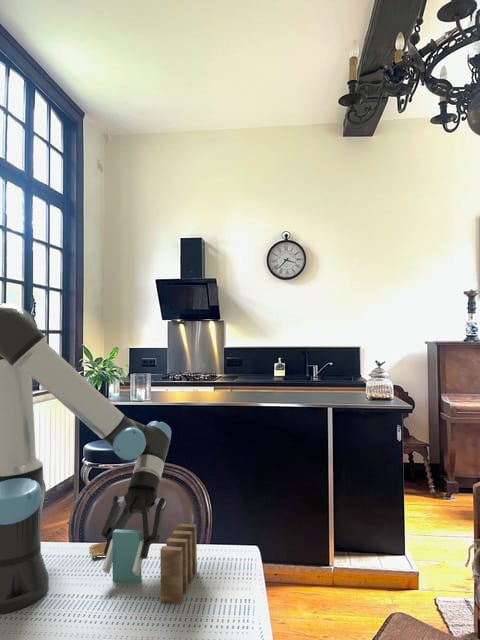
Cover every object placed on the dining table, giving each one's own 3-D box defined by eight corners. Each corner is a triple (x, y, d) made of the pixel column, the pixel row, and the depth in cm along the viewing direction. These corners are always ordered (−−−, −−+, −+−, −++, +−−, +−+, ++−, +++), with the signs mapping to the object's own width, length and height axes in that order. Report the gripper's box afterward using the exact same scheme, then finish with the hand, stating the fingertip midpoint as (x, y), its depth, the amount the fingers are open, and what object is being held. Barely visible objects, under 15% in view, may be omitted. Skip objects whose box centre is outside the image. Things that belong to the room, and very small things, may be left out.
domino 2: (177, 573, 106) (176, 526, 106) (179, 570, 107) (178, 523, 108) (195, 574, 105) (194, 527, 105) (196, 571, 106) (196, 524, 107)
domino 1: (112, 580, 103) (112, 532, 103) (115, 577, 104) (115, 529, 105) (138, 582, 102) (138, 533, 102) (141, 578, 103) (141, 530, 104)
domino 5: (160, 602, 94) (160, 549, 94) (163, 598, 95) (162, 546, 96) (180, 604, 93) (180, 550, 94) (182, 599, 95) (182, 547, 95)
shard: (129, 542, 123) (129, 535, 124) (135, 553, 117) (135, 546, 117) (88, 550, 119) (88, 544, 119) (92, 563, 112) (92, 556, 112)
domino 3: (172, 582, 102) (171, 533, 102) (174, 578, 103) (173, 530, 104) (190, 583, 101) (190, 534, 101) (192, 580, 102) (192, 531, 103)
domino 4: (166, 592, 98) (166, 541, 98) (168, 588, 99) (168, 537, 100) (185, 593, 97) (185, 542, 98) (187, 589, 99) (187, 538, 99)
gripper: (184, 485, 118) (165, 581, 101) (116, 482, 120) (86, 575, 104) (179, 470, 113) (157, 569, 96) (107, 468, 116) (74, 563, 99)
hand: (120, 572), depth 100 cm, fingers closed on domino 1, 6 cm apart
